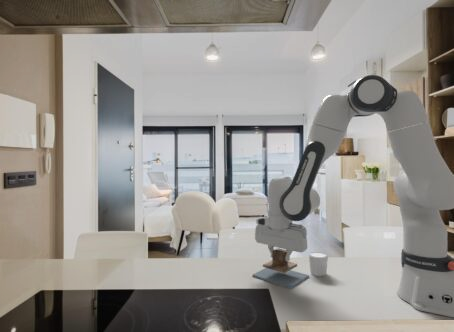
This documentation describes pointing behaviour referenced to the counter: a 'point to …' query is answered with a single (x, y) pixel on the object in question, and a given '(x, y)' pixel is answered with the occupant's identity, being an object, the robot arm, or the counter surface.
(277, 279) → the mat
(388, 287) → the counter surface
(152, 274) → the counter surface
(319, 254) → the shot glass
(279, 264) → the brown wooden pedestal
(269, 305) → the counter surface
